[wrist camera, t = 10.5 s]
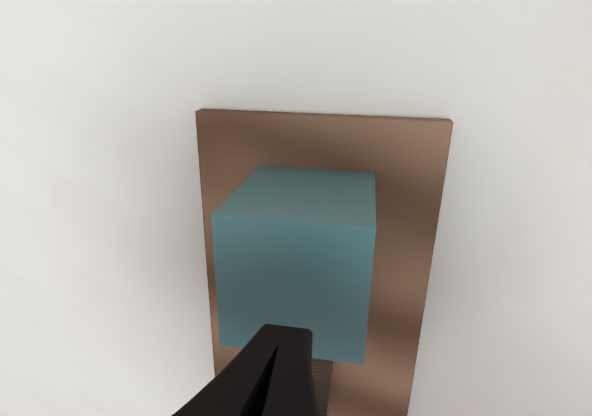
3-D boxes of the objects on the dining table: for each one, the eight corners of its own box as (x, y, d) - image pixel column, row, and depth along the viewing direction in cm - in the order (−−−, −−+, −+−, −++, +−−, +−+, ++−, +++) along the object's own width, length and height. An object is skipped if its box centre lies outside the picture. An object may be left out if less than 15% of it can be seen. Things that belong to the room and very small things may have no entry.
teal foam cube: (365, 275, 19) (363, 365, 14) (261, 265, 20) (220, 345, 15) (374, 172, 18) (376, 227, 12) (258, 165, 18) (210, 214, 13)
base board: (400, 442, 24) (401, 454, 23) (222, 413, 26) (218, 424, 25) (449, 119, 17) (453, 122, 16) (202, 108, 19) (195, 111, 18)
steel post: (331, 395, 23) (321, 474, 18) (285, 388, 23) (266, 464, 19) (333, 358, 22) (324, 432, 17) (285, 351, 22) (265, 423, 18)
